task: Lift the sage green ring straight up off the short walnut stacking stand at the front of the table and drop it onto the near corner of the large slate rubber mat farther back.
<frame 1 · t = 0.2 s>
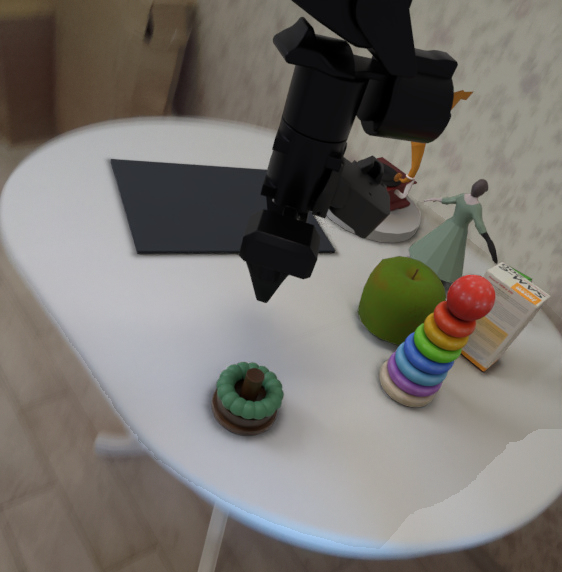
hand: (268, 273, 53), 14 cm above the table, tool pointing down, fingers open, 9 cm apart
supplement box: (467, 349, 78), on the table
apple: (385, 326, 76), on the table
stand: (244, 408, 59), on the table
mat: (222, 207, 85), on the table
geometric puzzle: (496, 305, 88), on the table
ring: (248, 395, 57), point 2 cm above the table, touching stand
stacking toy: (403, 386, 69), on the table
gramophone: (366, 210, 97), on the table
character figurine: (430, 279, 88), on the table
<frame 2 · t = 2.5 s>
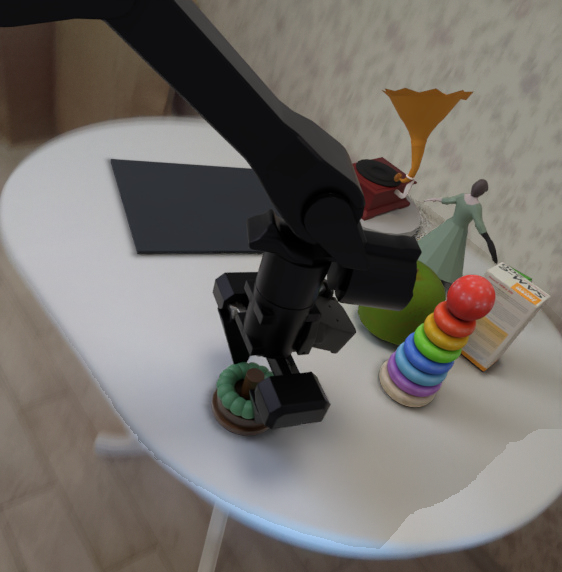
hand: (248, 394, 57), 3 cm above the table, tool pointing down, fingers closed on ring, 7 cm apart
ring: (248, 395, 57), point 2 cm above the table, touching gripper, stand
everything else where it was.
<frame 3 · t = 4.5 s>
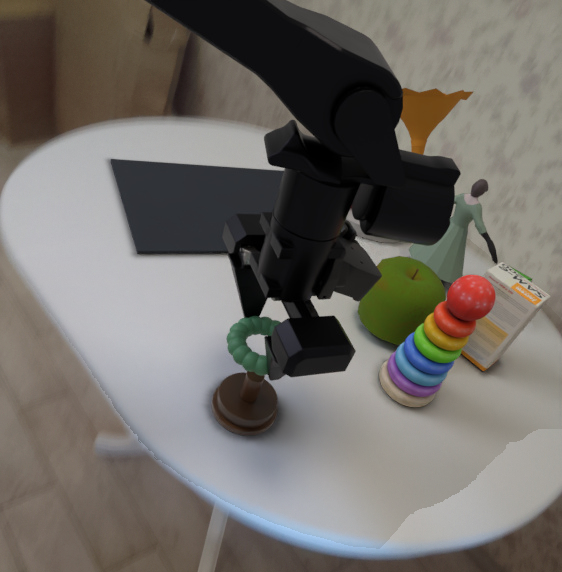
hand: (261, 350, 52), 10 cm above the table, tool pointing down, fingers closed on ring, 7 cm apart
ring: (261, 351, 53), point 9 cm above the table, touching gripper
everything else where it was.
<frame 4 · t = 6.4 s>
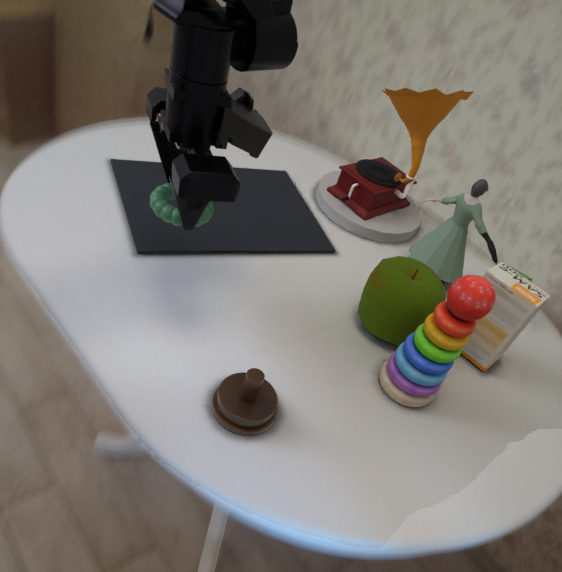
hand: (180, 210, 62), 11 cm above the table, tool pointing down, fingers closed on ring, 7 cm apart
ring: (181, 211, 62), point 11 cm above the table, touching gripper
everything else where it was.
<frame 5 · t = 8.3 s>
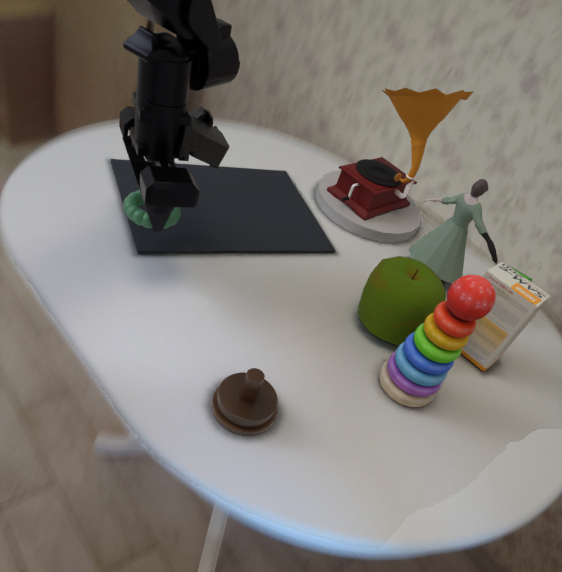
hand: (151, 214, 70), 5 cm above the table, tool pointing down, fingers closed on ring, 7 cm apart
ring: (152, 215, 70), point 5 cm above the table, touching gripper
everything else where it was.
when the fingers open (1 cm above the table, at t = 10.1 s): ring stays where it is, resting on mat.
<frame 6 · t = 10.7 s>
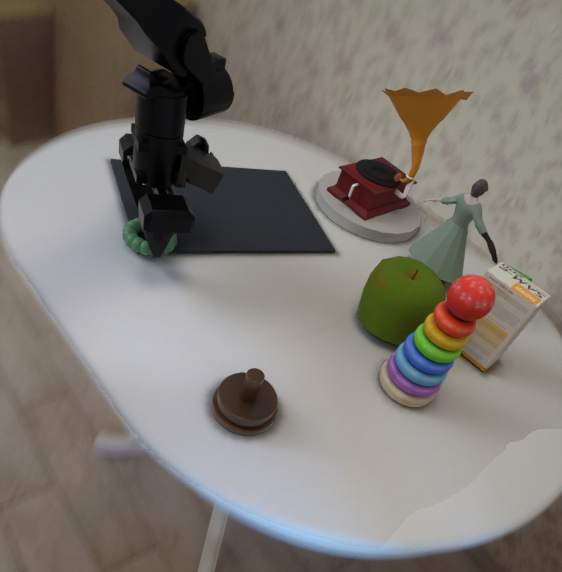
hand: (149, 236, 72), 2 cm above the table, tool pointing down, fingers open, 9 cm apart
ring: (149, 242, 73), resting on mat
everything else where it was.
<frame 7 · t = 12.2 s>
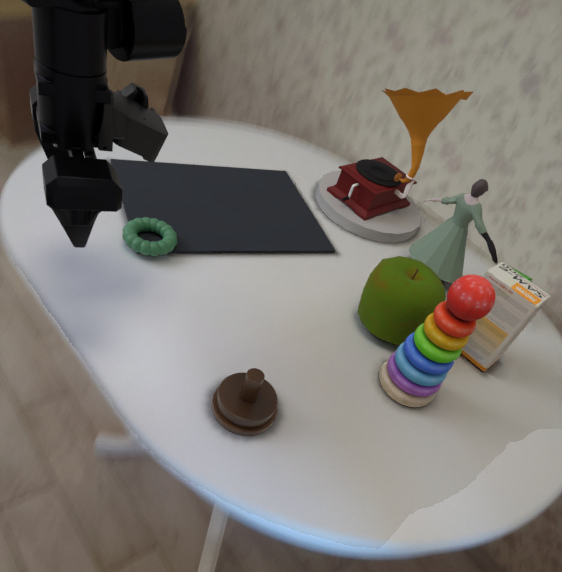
hand: (73, 220, 55), 11 cm above the table, tool pointing down, fingers open, 9 cm apart
nothing on the table moved.
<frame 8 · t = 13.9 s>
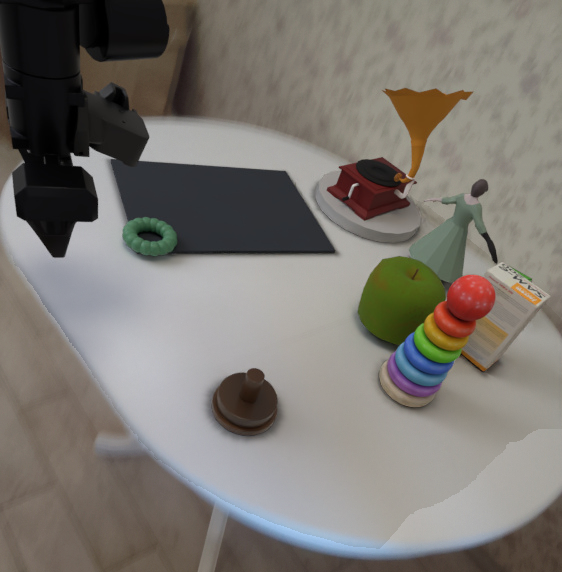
hand: (54, 227, 52), 12 cm above the table, tool pointing down, fingers open, 9 cm apart
nothing on the table moved.
at the end: ring inside the target area on the mat (17.1 cm from its centre), point 0.5 cm above the mat's base; ring touching mat; the gripper is holding nothing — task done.
